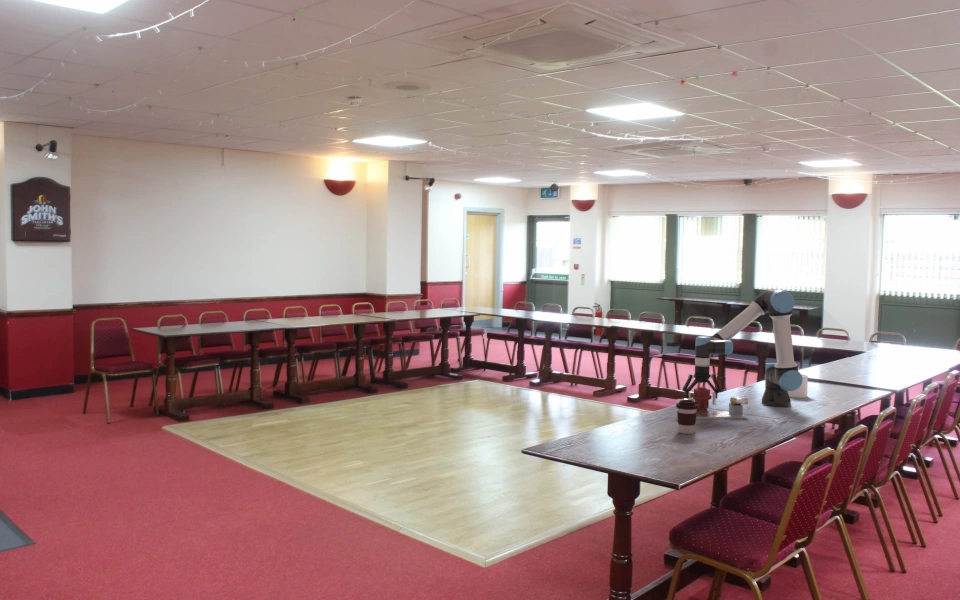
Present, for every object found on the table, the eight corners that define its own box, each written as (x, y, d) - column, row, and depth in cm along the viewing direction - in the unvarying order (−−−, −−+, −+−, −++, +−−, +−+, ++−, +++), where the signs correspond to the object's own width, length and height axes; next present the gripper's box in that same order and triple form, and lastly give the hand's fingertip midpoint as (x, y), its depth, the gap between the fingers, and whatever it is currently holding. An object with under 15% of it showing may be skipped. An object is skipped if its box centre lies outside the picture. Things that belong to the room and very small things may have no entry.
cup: (781, 395, 441) (782, 375, 440) (791, 393, 449) (791, 373, 448) (801, 398, 432) (802, 378, 432) (810, 395, 440) (811, 375, 439)
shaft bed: (742, 413, 396) (742, 394, 395) (751, 418, 384) (751, 399, 383) (674, 414, 395) (674, 395, 394) (681, 419, 383) (681, 400, 382)
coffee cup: (701, 432, 356) (701, 400, 355) (690, 436, 349) (691, 404, 348) (682, 428, 363) (683, 398, 362) (671, 432, 356) (672, 401, 355)
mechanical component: (710, 408, 407) (712, 412, 398) (691, 408, 409) (692, 412, 400) (710, 386, 406) (712, 389, 397) (691, 385, 408) (692, 389, 399)
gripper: (722, 364, 406) (721, 403, 407) (677, 364, 405) (676, 403, 407) (727, 366, 398) (726, 405, 400) (681, 366, 398) (680, 406, 399)
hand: (701, 404), depth 403 cm, fingers open, 13 cm apart
